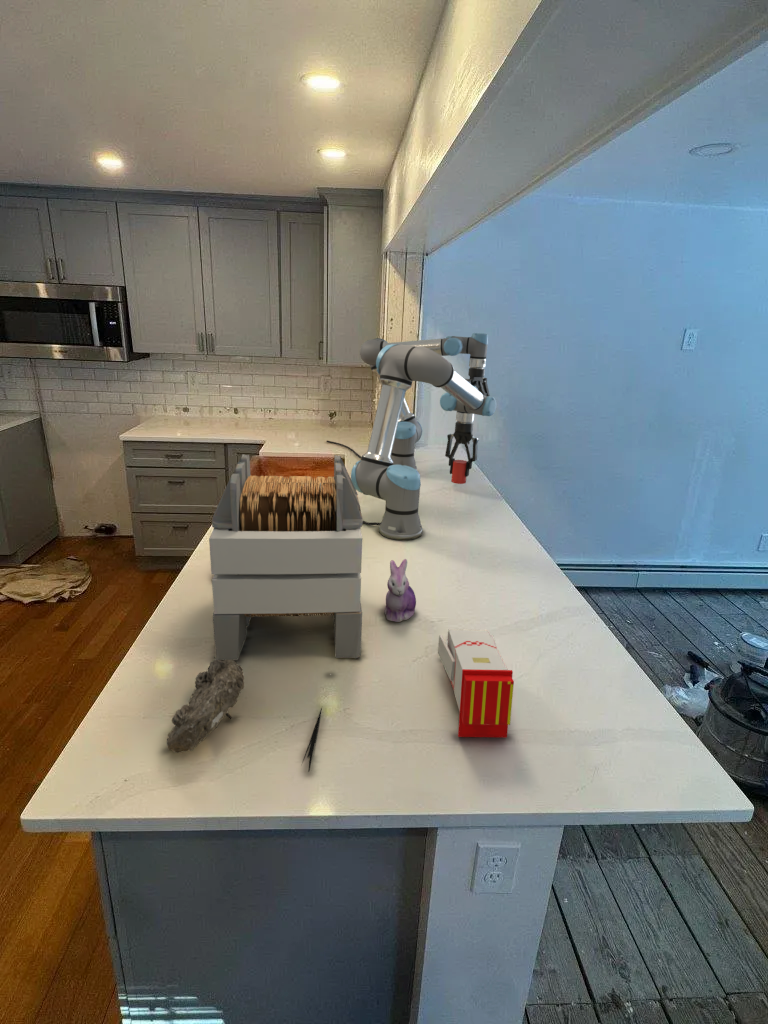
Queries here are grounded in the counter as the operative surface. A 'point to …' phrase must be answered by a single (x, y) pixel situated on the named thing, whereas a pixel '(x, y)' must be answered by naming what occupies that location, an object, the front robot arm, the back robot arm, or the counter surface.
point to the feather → (313, 740)
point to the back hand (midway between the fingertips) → (472, 413)
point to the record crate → (286, 555)
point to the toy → (478, 682)
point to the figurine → (399, 594)
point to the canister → (459, 472)
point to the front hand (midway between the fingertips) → (459, 474)
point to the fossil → (206, 705)
